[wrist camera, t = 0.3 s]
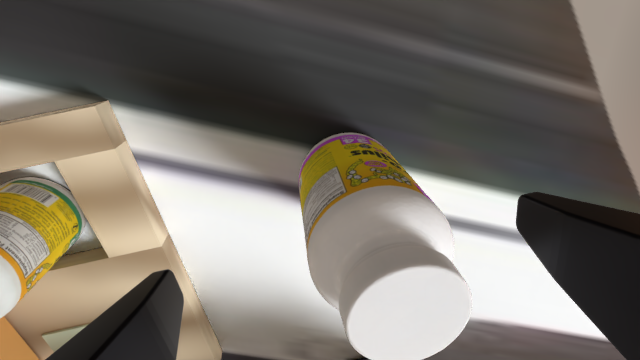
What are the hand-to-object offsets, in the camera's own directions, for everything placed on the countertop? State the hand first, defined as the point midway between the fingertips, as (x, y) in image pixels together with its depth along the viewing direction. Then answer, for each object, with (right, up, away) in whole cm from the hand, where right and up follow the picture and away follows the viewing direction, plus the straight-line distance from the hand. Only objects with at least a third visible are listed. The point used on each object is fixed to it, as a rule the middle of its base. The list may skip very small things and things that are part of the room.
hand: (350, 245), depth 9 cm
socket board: (-18, -5, +16) cm, 24 cm away
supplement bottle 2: (+1, +2, +15) cm, 15 cm away
